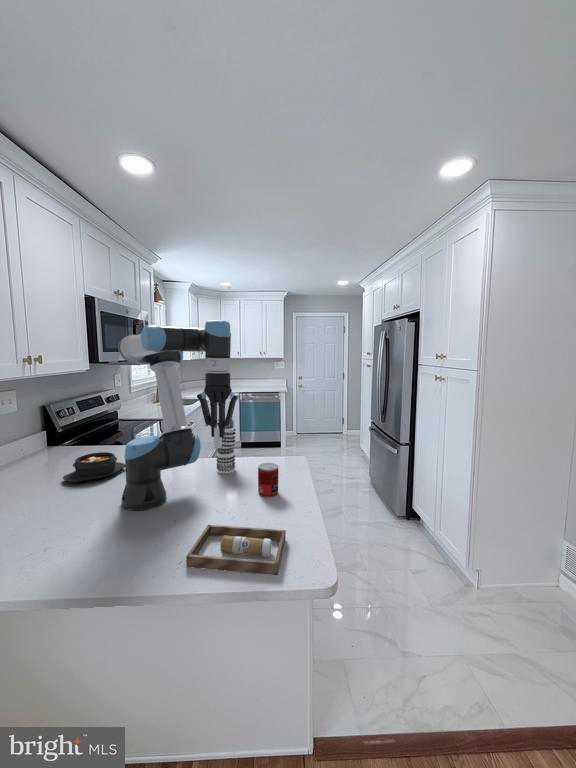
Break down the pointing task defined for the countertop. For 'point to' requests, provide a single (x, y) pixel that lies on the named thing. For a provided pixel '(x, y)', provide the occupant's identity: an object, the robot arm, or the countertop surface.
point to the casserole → (94, 467)
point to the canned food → (268, 479)
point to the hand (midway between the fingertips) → (218, 447)
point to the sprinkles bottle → (246, 546)
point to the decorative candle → (226, 450)
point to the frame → (236, 563)
